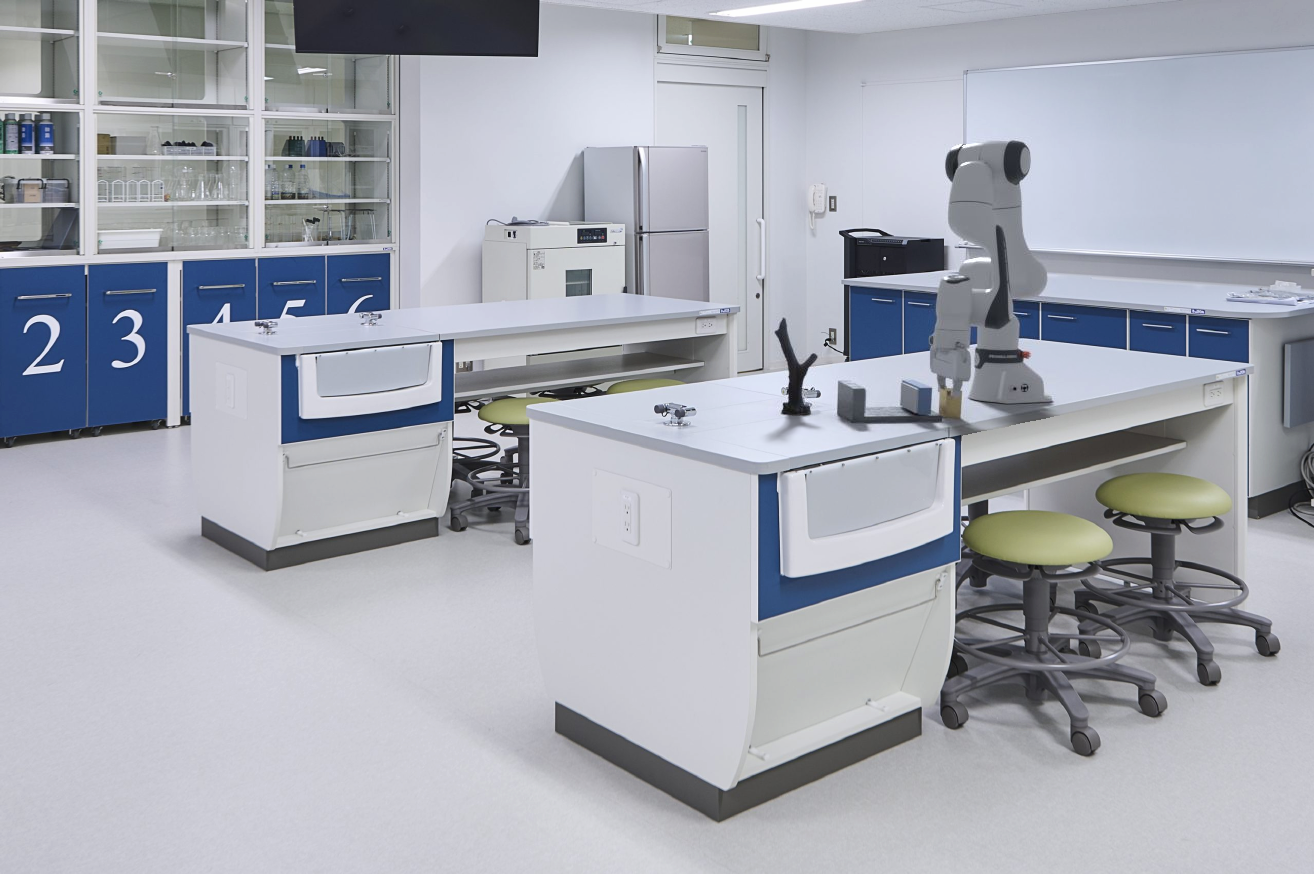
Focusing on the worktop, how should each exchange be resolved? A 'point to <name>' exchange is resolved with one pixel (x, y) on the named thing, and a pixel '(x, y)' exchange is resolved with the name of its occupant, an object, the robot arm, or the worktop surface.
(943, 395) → the brass block
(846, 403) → the base
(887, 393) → the worktop surface
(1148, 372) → the worktop surface
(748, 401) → the worktop surface
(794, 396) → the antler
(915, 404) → the sliding jaw
